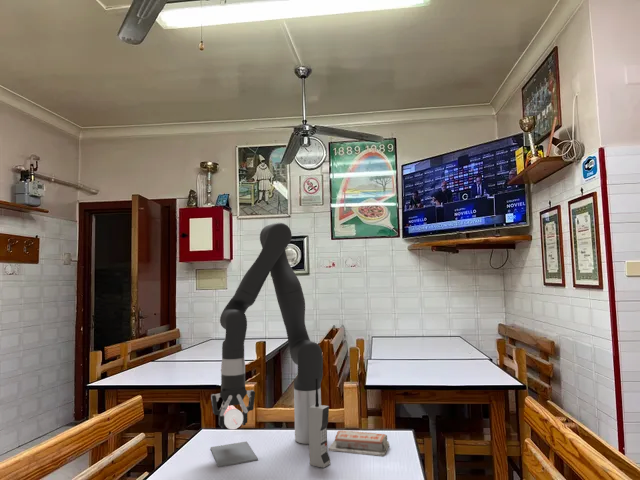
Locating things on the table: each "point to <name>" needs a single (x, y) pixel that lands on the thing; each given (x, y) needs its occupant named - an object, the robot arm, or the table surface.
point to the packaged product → (360, 443)
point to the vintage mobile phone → (318, 433)
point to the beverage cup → (233, 417)
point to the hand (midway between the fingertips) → (233, 425)
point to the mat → (233, 454)
